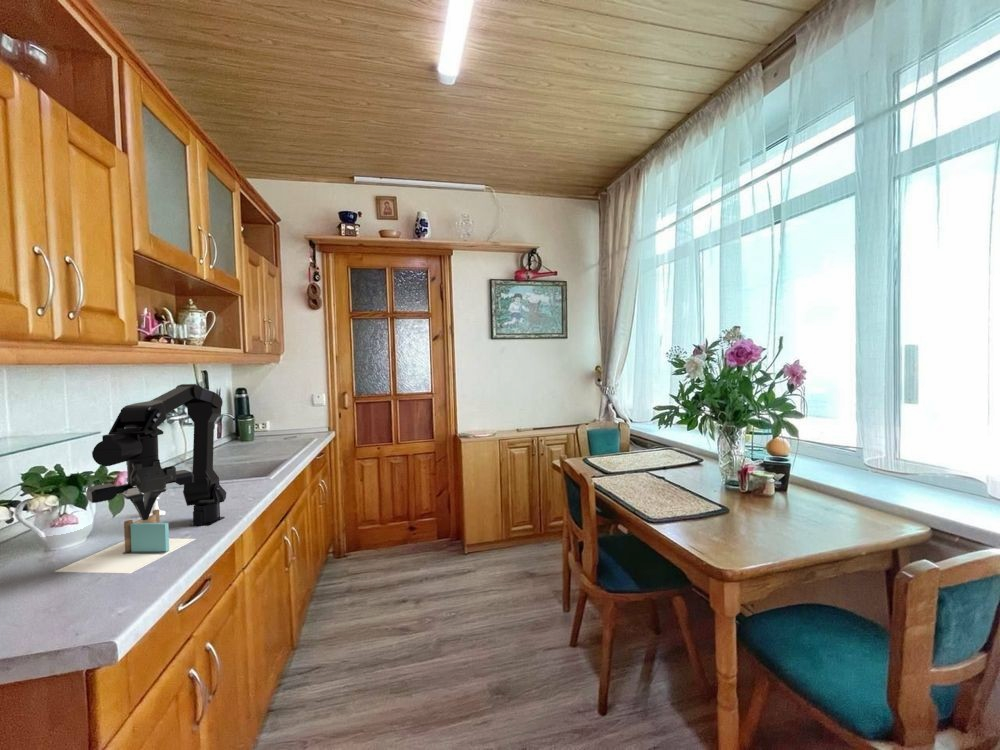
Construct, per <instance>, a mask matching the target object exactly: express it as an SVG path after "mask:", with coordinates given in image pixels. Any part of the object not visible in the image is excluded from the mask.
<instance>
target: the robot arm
mask: <svg viewBox="0 0 1000 750" xmlns="http://www.w3.org/2000/svg"><path fill="white" fill-rule="evenodd" d="M223 403H224V402H223V399H222V397H221V396H220V395H219V394H218V393H216V392H215V391H212V390H210V389H207V388H204V387H202V386H201V385H200V384H197V383H183V384H179V385H177V386H175V388H173V389H170V390H169V391H166V392H165V393H163V394H161V395H159V396H156V397H155V398H153V399H151V400H148V401H142V402H135V403H132V404H128V405H124V406H123V407H122V408H121V409H120V412H119V414H118V415H117V416H116V419H115V421H114V423H113V425H112V426H111V428H110V430H109V432H108V434H103V435H102V436H101V437H102V440H100V441H99V442H97V444H96V445H95V446H94V448H93V450H92V451H91V455H92V459H93V460H94V462H95V463H96V464H97V465H99V466H101V467H111V466H114V465H115V466H116V465H118V464H121V463H125V462H126V471H127V472H126V473H127V474H126V475H127V476H126V482H127V483H124V484H119V485H115V484H113V483H111V482H109V483H103V484H97V485H92V486H89V487H88V489H86V500H87V501H89V502H90V503H92V504H97V503H101V502H102V503H103V502H107V501H110V500H111V501H112V500H114V499H115V498H116V496H118V494H120V496H121V497H122V498H123V499H124V498H125V500H129V501H130V502H131V503H132V505H133V506H134V507H135V510H136V511H137V513H138V515H139V516H140V519H142V520H143V521H144V520H147V519H148V517H149V515H150V513H151V511H152V508H153V505H154V502H155V501H156V499H157V497H159V496H160V495H161V494H162V493H165V492H166V491H167V488H166V487H167V484H172V483H175V484H177V485H178V486H183V491H182V493H183V494H182V495H183V497H184V500H185V503H186V506H188V507H190V506H193V511H192V522H191V523H190V524H188V525H189V526H192V527H194V526H195V527H196V526H197V527H206V526H207V527H209V526H211V525H214V524H215V523H217V522H220V521H221V520H223V519H225V516H221V508H220V507H221V506H220V503H224V502H225V500H226V499H227V491H226V490H225V489H224V488H223V487H222V486H221V485H220V477H219V475H218V474H217V473H216V472H215V470H214V441H215V439H214V437H215V435H214V432H215V431H214V430H215V422H216V420H217V418H218V417H219V416H220V415H221V411H222V406H223ZM181 406H184V407H186V410H187V416H188V417H189V418H190V420H191V421H192V422H193V445H192V447H193V451H192V452H193V453H192V470H191V471H190V470H186V469H180V470H177V468H176V467H175V465H171V466H165V467H163V468H162V466H161V460H160V459H159V436H160V435H163V434H164V431H163V430H162V429H160V428H159V426H161V425H162V424H163V423H164V422H165V421H167V419H168V416H167V415H168V414H169V413H171V412H173V411H174V410H176V409H178V408H180V407H181ZM157 500H158V499H157Z"/></svg>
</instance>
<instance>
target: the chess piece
mask: <svg viewBox="0 0 1000 750" xmlns="http://www.w3.org/2000/svg"><path fill="white" fill-rule="evenodd" d="M159 499H160V497H159V496H158V497H157V499H156V501H155V502H154V505H153V507H152V510H151V512H150V515H153V510H157V509H159V515H160V516H163V515H164V516H165V515H166V511H165V510H161V509H160V508H159V503H158V500H159ZM150 515H149V516H150Z"/></svg>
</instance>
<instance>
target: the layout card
mask: <svg viewBox="0 0 1000 750" xmlns="http://www.w3.org/2000/svg"><path fill="white" fill-rule="evenodd" d="M195 540H196V538H171V537H169V550H168V551H152V552H130V553H125V540H124V541H121V542H119V543H116V544H114V545H112V546H109V547H107V548H105V549H103V550H100V551H99V552H95V553H94V554H91V555H89V556H87V557H83V558H82V559H79V560H78V561H75V562H73V563H71V564H68V565H66V566H64V567H62V568H59V569H57V570H55V571H54V572H57V573H59V572H60V573H90V574H91V573H92V574H95V573H97V574H103V573H104V574H132V573H134V572H136V571H138V570H140V569H141V568H143V567H145V566H147V565H149V564H151V563H153V562H155V561H157V560H159V559H161V558H162V557H164V556H166V555H169V554H170V553H172V552H174V551H176V550H178V549H179V548H183V546H186V545H188V544H189V543H191V542H193V541H195Z"/></svg>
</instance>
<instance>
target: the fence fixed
mask: <svg viewBox="0 0 1000 750" xmlns="http://www.w3.org/2000/svg"><path fill="white" fill-rule="evenodd" d="M159 509H160V508H159ZM159 509H157V510H153V515H150V516H149V517H148V519H147V520H144V521H143V520H142V519H141V518H140V519H138V520H135V521H133V520H134V519H128V520H125V521H123V530H124V541H125V553H130V552H131V526H130V524H133V523H161V519H160V516H161V515H159Z"/></svg>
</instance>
